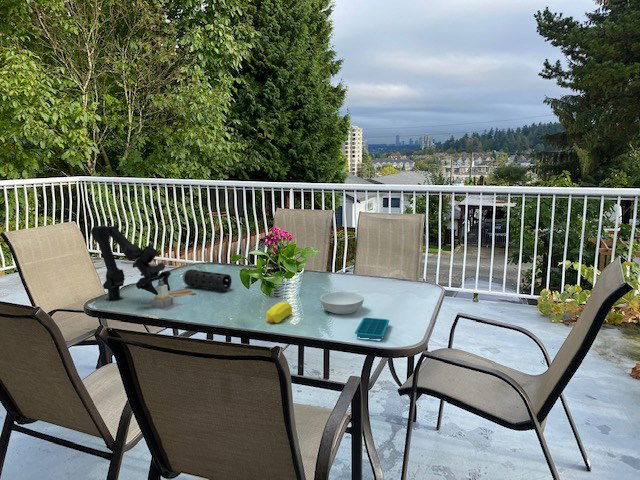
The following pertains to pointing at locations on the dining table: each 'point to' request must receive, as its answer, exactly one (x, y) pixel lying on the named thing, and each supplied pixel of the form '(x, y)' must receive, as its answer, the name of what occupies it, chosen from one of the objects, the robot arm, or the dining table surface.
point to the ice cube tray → (372, 328)
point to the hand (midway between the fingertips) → (163, 292)
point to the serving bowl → (342, 302)
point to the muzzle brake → (207, 280)
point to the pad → (181, 292)
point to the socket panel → (162, 304)
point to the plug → (161, 291)
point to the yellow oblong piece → (278, 312)
